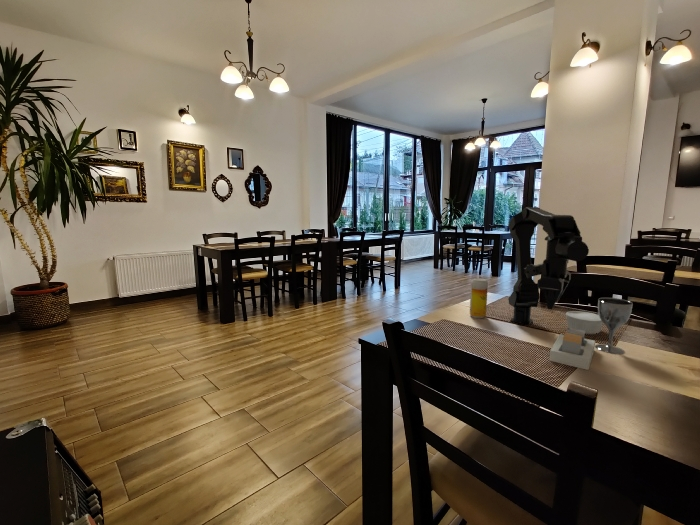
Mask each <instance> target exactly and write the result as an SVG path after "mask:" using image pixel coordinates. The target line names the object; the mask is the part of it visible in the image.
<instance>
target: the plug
mask: <svg viewBox="0 0 700 525" xmlns="http://www.w3.org/2000/svg"><path fill="white" fill-rule="evenodd" d="M563 335H564V336H563V344H562V352H567V353H571V354H576V355H580V353H581V343H582V336H580V335H575V334H570V333H567V332H564V334H563Z"/></svg>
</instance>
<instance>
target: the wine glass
mask: <svg viewBox="0 0 700 525" xmlns="http://www.w3.org/2000/svg"><path fill="white" fill-rule="evenodd" d="M633 305H634V304H633V302H632V301H630V300H626V299H623V298H618V297H617V298H615V297H600V298H598V299H597V314H598V315H599V317H600V319H601V320H602V321H603V324H604V325H605V326H606V328H607V330H608V344H605V343H604V344H602V343H599V344H595V347H594V348H595V349H597V350H599V351H601V352H604V353H607V354H612V355H613V354H614V355H624V354H625V353H626V352H625V351H626V350H624V349H622V348H621V347H618V346H615V345H613V338H614V336H615V332H616V331H617V329H618V328H621V327H622V326H623V325H625V324H626V323H627V322H628V321H629V319H630V317H631V314H632V311H633V310H632V309H633Z"/></svg>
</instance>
